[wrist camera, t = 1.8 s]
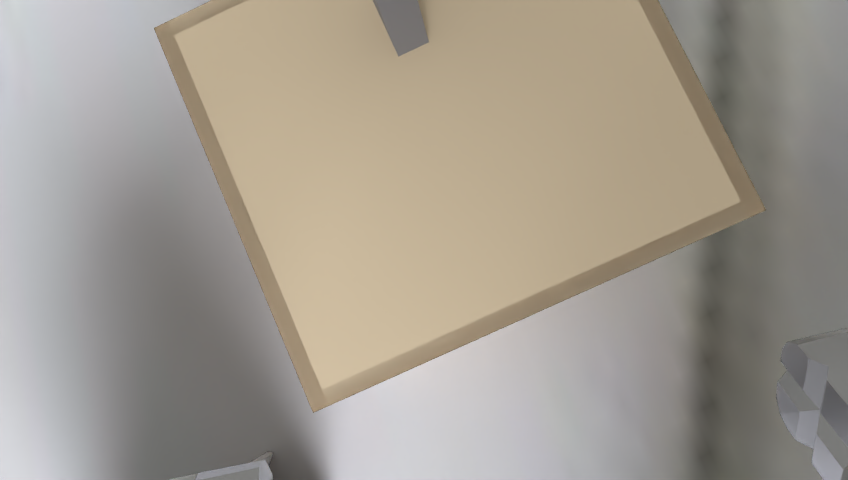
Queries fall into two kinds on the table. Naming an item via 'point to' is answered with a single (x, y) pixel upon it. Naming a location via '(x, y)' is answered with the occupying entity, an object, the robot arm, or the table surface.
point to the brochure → (264, 457)
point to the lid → (446, 163)
